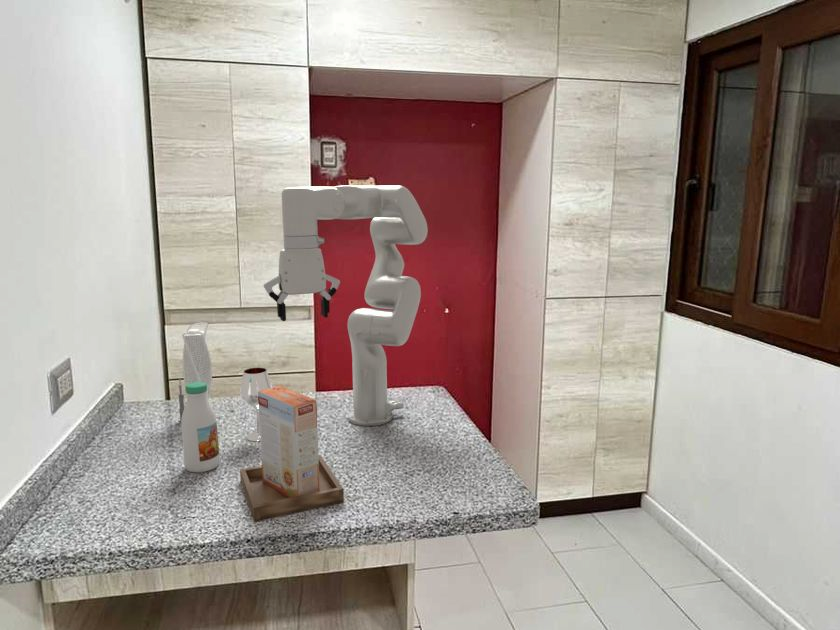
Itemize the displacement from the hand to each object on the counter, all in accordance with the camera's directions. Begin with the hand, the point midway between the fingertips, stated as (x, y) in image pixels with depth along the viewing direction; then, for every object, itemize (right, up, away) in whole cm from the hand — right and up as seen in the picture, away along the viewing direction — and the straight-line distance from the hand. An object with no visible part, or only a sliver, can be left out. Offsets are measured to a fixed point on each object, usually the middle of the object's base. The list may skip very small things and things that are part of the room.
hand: (304, 318), depth 136 cm
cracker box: (-1, -36, -10) cm, 38 cm away
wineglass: (-16, -31, +19) cm, 40 cm away
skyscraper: (-35, -29, +31) cm, 55 cm away
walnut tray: (-1, -37, -10) cm, 38 cm away
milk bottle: (-24, -35, +2) cm, 42 cm away
